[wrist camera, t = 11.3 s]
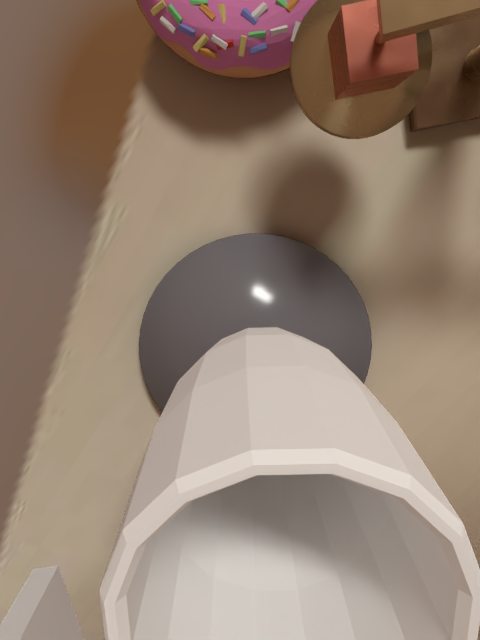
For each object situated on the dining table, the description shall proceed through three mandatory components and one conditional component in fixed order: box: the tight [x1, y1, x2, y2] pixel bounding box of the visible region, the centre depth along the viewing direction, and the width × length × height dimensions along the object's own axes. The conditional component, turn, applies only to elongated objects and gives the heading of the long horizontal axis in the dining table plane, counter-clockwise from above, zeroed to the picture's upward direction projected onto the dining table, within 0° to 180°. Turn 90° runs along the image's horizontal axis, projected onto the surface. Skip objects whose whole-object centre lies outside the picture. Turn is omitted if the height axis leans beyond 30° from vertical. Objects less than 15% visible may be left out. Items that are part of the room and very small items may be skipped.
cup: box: [99, 327, 480, 640], centre depth 21 cm, size 10×10×22 cm
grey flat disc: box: [139, 234, 372, 412], centre depth 32 cm, size 17×17×1 cm
